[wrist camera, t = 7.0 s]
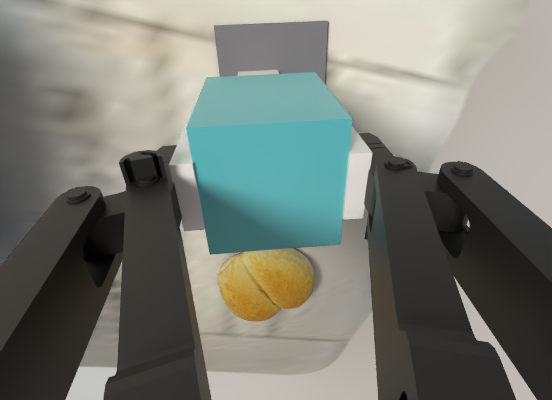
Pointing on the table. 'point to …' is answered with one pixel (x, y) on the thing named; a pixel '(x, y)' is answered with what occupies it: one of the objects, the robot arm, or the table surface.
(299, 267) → the bread roll
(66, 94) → the table surface
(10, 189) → the table surface
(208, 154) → the teal toy brick
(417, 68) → the table surface
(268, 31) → the panel
